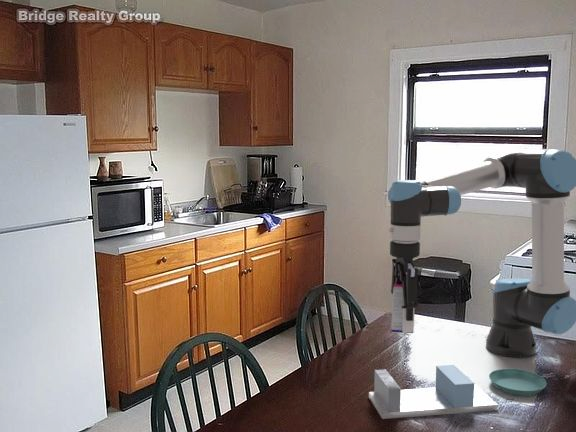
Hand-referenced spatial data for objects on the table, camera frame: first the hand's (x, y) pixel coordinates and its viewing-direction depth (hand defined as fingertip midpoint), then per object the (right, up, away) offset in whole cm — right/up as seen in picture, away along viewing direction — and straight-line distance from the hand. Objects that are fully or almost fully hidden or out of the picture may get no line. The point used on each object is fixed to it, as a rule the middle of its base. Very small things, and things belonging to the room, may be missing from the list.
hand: (403, 326), depth 152 cm
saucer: (+33, -19, +8) cm, 38 cm away
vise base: (+7, -19, -2) cm, 21 cm away
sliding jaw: (+13, -18, -1) cm, 22 cm away
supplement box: (0, -1, 0) cm, 1 cm away
